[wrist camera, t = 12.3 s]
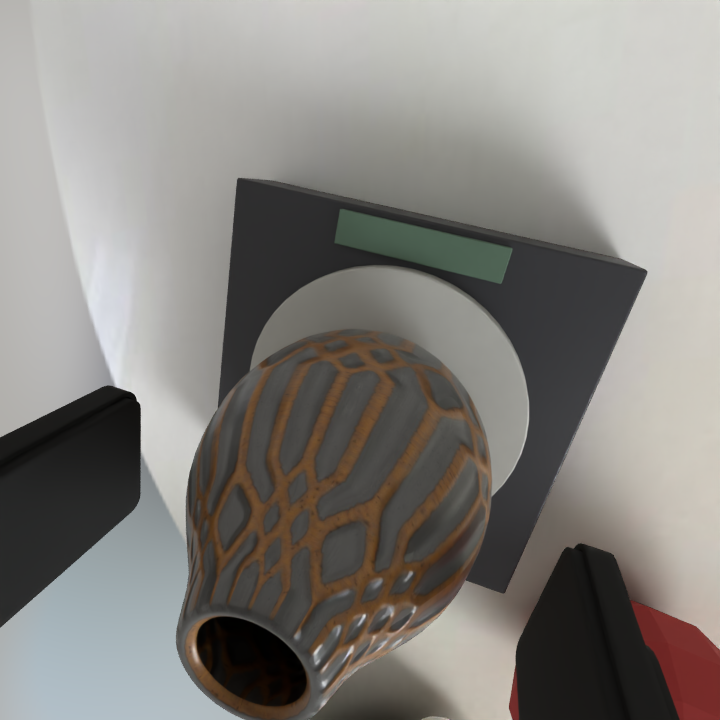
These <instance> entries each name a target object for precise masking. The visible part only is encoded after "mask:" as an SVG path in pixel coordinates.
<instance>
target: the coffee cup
mask: <svg viewBox="0 0 720 720" xmlns="http://www.w3.org/2000/svg"><path fill="white" fill-rule="evenodd" d="M421 720H450V719H448V718H443V717H434V716H430V717H427V718H424V719H421Z"/></svg>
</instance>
